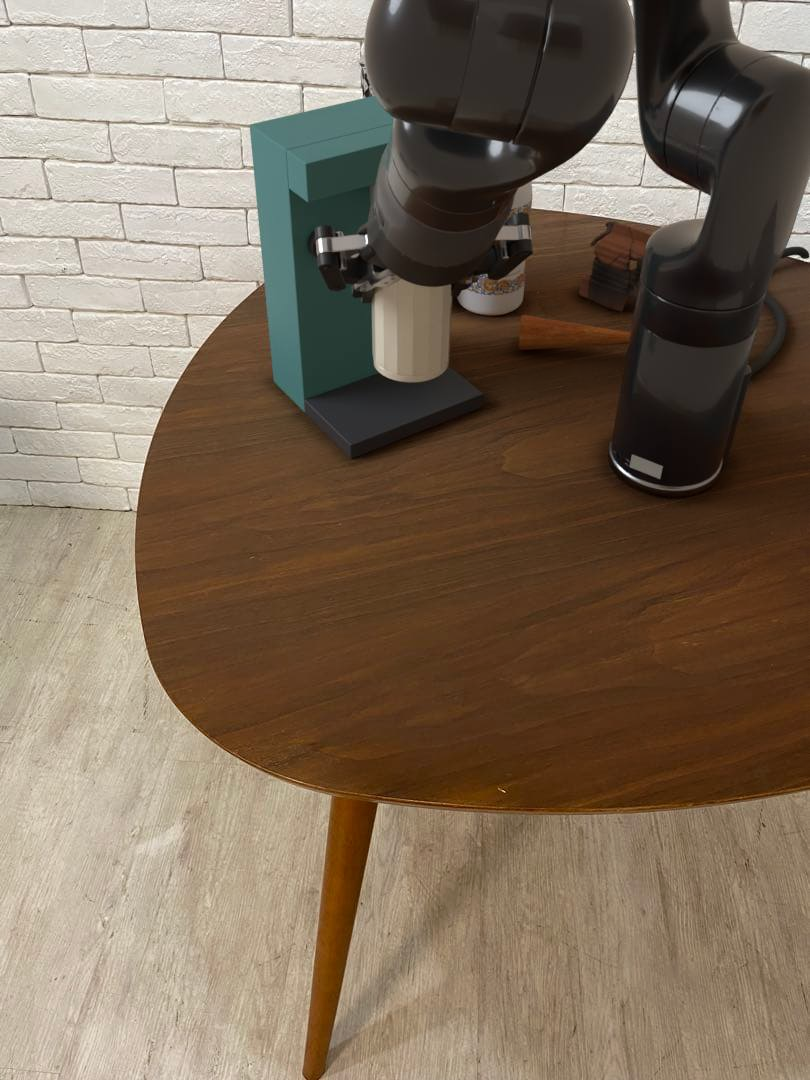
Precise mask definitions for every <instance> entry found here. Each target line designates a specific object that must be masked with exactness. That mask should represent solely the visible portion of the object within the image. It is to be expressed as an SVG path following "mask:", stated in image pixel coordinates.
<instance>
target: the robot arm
mask: <svg viewBox="0 0 810 1080" xmlns="http://www.w3.org/2000/svg"><path fill="white" fill-rule="evenodd" d="M631 5H632V7H631V6H630V3H629V1H628V0H373V1H372V4H371V7H370V9H369V13H368V17H367V21H366V26H365V31H364V40H363V55H364V62H365V69H366V74H367V77H368V80H369V83H370V86H371V89H372V91H373V93H374V95H375V97H376V99H377V100H378V102H379V104H380V105H381V106H382V108H383V109H384V110H385V111H386V112H387V113H388V114H390V115H391V116H392V117H394V120H393V125H392V129H391V134H390V138H389V143H388V145H387V147H386V149H385V151H384V153H383V155H382V158H381V161H380V164H379V167H378V172H377V177H376V182H375V187H374V192H373V197H372V202H371V207H370V212H369V217H368V222H366V223H365V224H363V225H362V226H361V227H360V228H359V229H358V232H357V234H356V235H348V236H343V232H341V231H338V232H335V229H334V227H332V226H327V225H322V226H319V227H317V228H315V238H316V248H317V258H318V268H319V270H320V272H321V274H322V276H323V278H324V280H325V282H326V284H327V286H328V289H329V290H332V291H341V290H344V289H346V288H347V285H346V284H351V290H352V296H353V297H354V298H359V297H361V303H372V299H373V295H374V292H375V287H389V286H391V285H393V284H394V283H396V282H398V281H399V280H401V279H403V280H405V281H407V282H410V283H412V284H416V285H420V286H426V287H440V286H446V285H450V284H453V285H452V298H457V297H458V296H459V295H460V293H461V291H462V290H466V289H468V288H469V287H470V285H471V284H473V283H476V282H477V281H478V276H479V275H483V274H488V279H491V280H500V279H501V278H504V277H505V276H507V275H508V274H509V273H510V272H511V271H512V270H514V269H515V268H516V267H517V266H518V265H520V264H521V263H522V262H523V261H524V260H525V259H527V260H528V258H530V256H532V255H533V254H534V250H533V249H534V248H533V241H532V239H533V238H532V230H531V219H530V220H529V214H527V213H517V214H515V215H512V216H511V217H510V218H509V219H508V220H507V221H506V219H507V218H508V215H509V214H510V211H511V208H512V205H513V201H514V197H515V194H516V192H517V190H518V188H520V187H522V186H524V185H526V184H527V183H529V182H533V181H535V180H537V179H538V178H540V177H542V176H544V175H546V174H547V173H549V172H551V171H553V170H555V169H556V168H558V167H560V166H562V165H564V164H566V163H567V162H568V161H570V160H571V159H573V158H574V157H576V155H578V154H579V153H580V152H581V151H583V149H585V147H586V146H587V145H588V144H589V143H590V142H591V141H592V140H593V139H594V138H595V137H596V136H597V135H598V134H599V132H600V131H601V130H602V129H603V127H604V126H605V125H606V124H607V122H608V120H609V119H610V117H611V116H612V114H613V112H614V110H615V109H616V107H617V105H618V103H619V101H620V100H621V97H622V95H623V93H624V91H625V89H626V87H627V83H628V81H629V77H630V74H631V70H632V66H633V62H634V60H635V79H636V80H635V81H636V83H635V84H636V99H637V100H636V101H637V114H638V123H639V130H640V136H641V139H642V143H643V147H644V149H645V152H646V154H647V155H648V157H649V159H650V160H651V161H652V162H653V163H654V165H655V166H656V167H658V169H659V170H660V171H662V172H663V173H665V174H666V175H668V176H669V177H671V178H674V179H675V180H677V181H679V182H681V183H683V184H685V185H687V186H689V187H691V188H693V189H695V190H698V191H699V192H702V193H704V194H706V195H708V196H709V202H708V206H707V209H706V213H705V216H704V217H703V218H701V217H700V218H689V219H688V218H687V219H684V220H678V221H675V222H672V223H669V224H666V225H663V226H661V227H660V228H658V229H657V230H655V231H654V232H652V236H651V237H650V238H649V240H648V242H647V244H646V247H645V250H644V255H643V261H642V266H641V274H640V279H639V285H638V291H637V296H636V302H635V303H634V308H633V316H632V321H631V328H630V331H629V332H630V338H629V343H628V344H627V348H626V349H627V350H626V356H625V361H624V366H623V371H622V379H621V385H620V388H619V389H620V390H619V396H618V401H617V405H616V406H617V407H616V413H615V417H614V422H613V423H614V424H613V428H612V435H611V438H610V441H609V447H608V452H607V460H608V465H609V466H610V469H611V470H612V471H613V473H614V474H615V476H617V477H618V478H619V479H620V480H621V481H623V483H625V484H627V485H628V486H630V487H632V488H634V489H636V490H638V491H641V492H644V493H647V494H651V495H655V496H660V497H669V498H673V497H674V498H675V497H677V498H680V497H687V496H693V495H696V494H700V493H702V492H705V491H706V490H708V489H710V487H712V486H713V485H714V484H716V482H717V480H718V478H719V476H720V474H721V470H722V467H723V466H724V465H726V464H728V462H729V457H730V454H731V451H732V447H733V443H734V438H735V436H736V432H737V427H738V424H739V422H740V417H741V413H742V409H743V405H744V403H745V402H744V401H745V399H746V395H747V390H748V386H749V384H750V380H751V377H752V376H754V375H755V374H756V373H758V372H759V371H760V370H761V369H762V368H763V369H764V367H765V366H766V365H767V364H768V363H769V362H770V361H771V360H772V359H773V358H774V356H775V355H776V354H777V353H778V352H779V350H780V349H781V348H782V345H783V343H784V341H785V338H786V335H787V317H786V313H785V311H784V309H783V307H782V306H781V305H780V304H779V303H778V302H777V300H776V299H774V297H773V296H772V295H771V294H770V293H769V292H767V291H768V287H769V285H770V280H771V278H772V275H773V272H774V270H775V269H776V267H777V265H778V264H779V263H780V260H783V259H785V258H788V257H792V256H799V257H800V258H801V259H803V260H807V259H809V258H810V253H809V250H808V249H806V248H805V247H803V246H790V247H787V246H788V244H789V241H790V239H791V237H792V233H793V229H794V226H795V223H796V220H797V217H798V213H799V210H800V207H801V204H802V201H803V198H804V195H805V193H806V189H807V186H808V184H809V181H810V68H808V67H807V66H804V65H802V64H800V63H796V62H795V61H792V60H789V59H787V58H783V57H780V56H777V55H774V54H772V53H769V52H766V51H763V50H760V49H758V48H755V47H752V46H750V45H747V44H744V43H741V40H739V39H738V36H737V34H736V32H735V29H734V24H733V19H732V14H731V13H732V12H731V6H730V5H731V4H730V0H631ZM634 58H635V59H634ZM505 221H506V222H505ZM351 256H352V258H351ZM764 304H765V305H766V306H767V307H768V308H769V310H771V312H772V313H773V315H774V317H775V320H776V332H775V335H774V338H773V340H772V342H771V343H770V345H769V346H768V348H767V349H766V350H765V351H764V352H763V353H762V354H761V355H760V356H759V357H758V358H757V359H756V360H754V362H752V363H750V364H749V359H750V355H751V353H752V348H753V344H754V341H755V337H756V333H757V329H758V325H759V321H760V317H761V314H762V310H763V306H764Z"/></svg>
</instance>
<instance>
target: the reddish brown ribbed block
mask: <svg viewBox="0 0 810 1080" xmlns="http://www.w3.org/2000/svg"><path fill="white" fill-rule="evenodd" d="M605 226H606V230H605V231H604V232H602V233H600V234H599V235H597V236H595V238H593V240H592V241H591V242H590V247H594V248H593V254H594V258H593V262H592V268H591V274H588V273H583V274H581V277H580V283H579V292H578V295H579V296H581V297H582V298H586V299H587V300H590V301H593V302H594V303H595V304H597V305H600V306H603V307H605V308H608V309H610V310H613V311H618V312H620V313H621V312H623V310H624V309H625V305H626V303H627V302H628V300H629V297H630V298H631V300H632V302H633V303H634V304H635V302H636V296H637V291H638V285H639V279H640V274H641V266H642V261H643V255H644V250H645V247H646V244H647V242H648V240H649V238H650V237H651V236H652V234H653V232H649V231H646V230H643V229H641V228H638V227H635V226H630V225H628V224H625V223H620V222H617V221H608V222H606V223H605ZM631 261H633V262H636V268H632V269H630V264H631V263H630V262H631Z"/></svg>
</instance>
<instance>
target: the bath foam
mask: <svg viewBox="0 0 810 1080" xmlns="http://www.w3.org/2000/svg"><path fill="white" fill-rule="evenodd" d="M532 206H533V181H531V182H529V183H527V184H526V185H524V186H522V187H520V188H518V190H517V192H516V194H515V197H514V201H513V205H512V208H511V211H510V214H509V215H508V218H507V219H506V221H507V220H508V219H509V218H510V217H511V216H512V215H515V214H517V213H527V214H529V220H530V221H531V217H532ZM506 221H505V222H506ZM527 260H528V258H527V259H525V260H524V261H523V262H522V263H521V264H520V265H518V266H517V267H516V268H515V269H514V270H512V271H511V272H510V273H509V274H508V275H507V276H505V277H504V278H501V279H500V280H491V279H488V274H483V275H479V276H478V281H477V282H476V283H473V284H471V285H470V287H469V288H468V289H466V290H462V291H461V293H460V295H459V296H458V297H456V299H457V302H458V303H459V305H460V306H461V307H462V308H464V309H466V310H467V311H469V312H471V313H474V314H477V315H482V316H500V315H501V316H502V315H506V314H509V313H511V312H514V311H515V310H517V309H518V308H519V307H520V306H521V305H522V303H523V301H524V294H525V293H524V292H525V283H526V272H527V262H528V261H527Z"/></svg>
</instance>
